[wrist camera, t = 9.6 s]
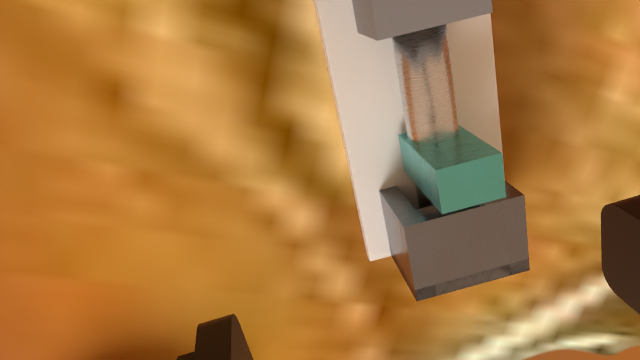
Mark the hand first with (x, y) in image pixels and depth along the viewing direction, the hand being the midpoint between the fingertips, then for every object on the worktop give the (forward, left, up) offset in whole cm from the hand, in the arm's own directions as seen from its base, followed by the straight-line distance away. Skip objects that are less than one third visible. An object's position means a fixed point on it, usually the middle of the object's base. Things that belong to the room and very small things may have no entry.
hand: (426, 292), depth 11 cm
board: (+1, +7, -22) cm, 23 cm away
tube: (+4, +7, -21) cm, 22 cm away
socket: (+10, +7, -22) cm, 25 cm away
